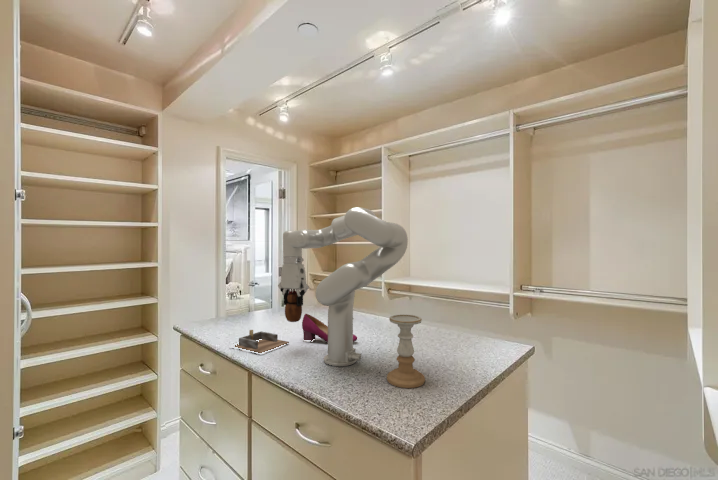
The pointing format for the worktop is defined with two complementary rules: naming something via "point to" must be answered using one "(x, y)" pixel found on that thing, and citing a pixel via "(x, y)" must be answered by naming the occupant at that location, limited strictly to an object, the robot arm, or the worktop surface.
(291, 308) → the wooden figurine
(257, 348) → the board
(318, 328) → the high heel
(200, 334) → the worktop surface
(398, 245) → the robot arm
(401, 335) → the candle holder
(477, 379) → the worktop surface
